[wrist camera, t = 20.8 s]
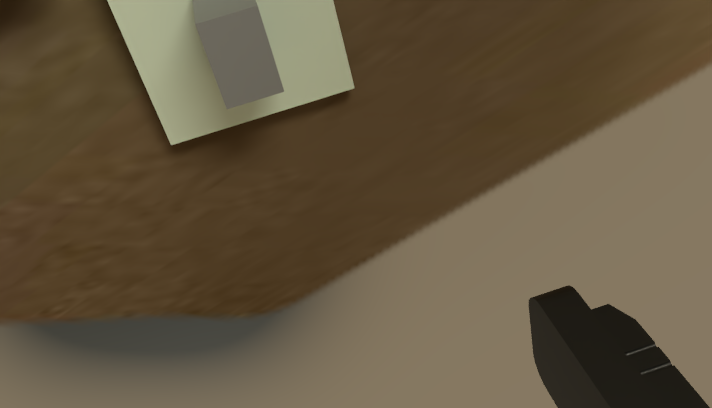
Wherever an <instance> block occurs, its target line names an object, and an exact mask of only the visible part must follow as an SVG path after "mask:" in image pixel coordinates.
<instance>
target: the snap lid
mask: <svg viewBox="0 0 712 408" xmlns="http://www.w3.org/2000/svg"><path fill="white" fill-rule="evenodd" d="M107 1H108V3H109V6H110V8H111V10H112V13H113V15H114V17H115V19H116V22H117V24H118V26H119V28H120V31H121V33H122V35H123V37H124V40H125V42H126V44H127V47H128V49H129V51H130V53H131V56H132V58H133V60H134V62H135V65H136V67H137V69H138V71H139V74H140V76H141V78H142V81H143V83H144V85H145V87H146V90H147V92H148V94H149V96H150V99H151V101H152V103H153V105H154V108H155V110H156V112H157V114H158V117H159V119H160V121H161V124H162V126H163V128H164V130H165V133H166V135H167V137H168V139H169V142H170V144H171V145H174V144H177V143H180V142H184V141H187V140H190V139H193V138H197V137H200V136H203V135H206V134H209V133H213V132H216V131H219V130H222V129H225V128H229V127H232V126H235V125H238V124H242V123H245V122H248V121H251V120H254V119H258V118H261V117H264V116H267V115H270V114H274V113H277V112H280V111H283V110H287V109H290V108H293V107H296V106H299V105H303V104H306V103H309V102H312V101H315V100H319V99H322V98H325V97H328V96H331V95H335V94H338V93H341V92H344V91H348V90H351V89H354V84H353V79H352V75H351V71H350V67H349V63H348V59H347V55H346V51H345V47H344V43H343V39H342V34H341V30H340V26H339V22H338V18H337V14H336V10H335V6H334V2H333V0H107Z"/></svg>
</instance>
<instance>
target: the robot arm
mask: <svg viewBox="0 0 712 408" xmlns="http://www.w3.org/2000/svg"><path fill="white" fill-rule="evenodd" d="M529 313H530V324H531V334H532V344H533V354H534V359H535V363H536V366H537V369H538V372H539V375H540V376H541V379H542V381H543V383H544V385H545V387H546V388H547V390H548V392H549V394H550V395H551V397H552V399H553V400H554V402H555V404H556V405H557V407H558V408H709V406H708V405H707V404H706V403H705V402H704V400H703V399H702V398H701V397H700V396H699V394H698V393H697V392H696V391H695V390H694V388H693V387H692V386H691V385H690V384H689V382H688V381H687V380H686V379H685V378H684V377H683V375H682V374H681V373H680V372H679V371H678V369H677V368H676V367H675V366H672V364H671V362H670V360H669V359H668V357H667V356H666V355H665V354H664V353H663V352H662V350H661V349H660V348H659V347H656V345H655V342H654V341H653V340H652V338H651V337H650V336H649V335H648V334H647V333H646V331H645V330H644V329H643V328H642V327H641V326H640V324H639V323H638V322H637V321H636V320H635V319H633V318H631V317H630V316H628V315H627V314H624V313H623V312H621V311H620V310H618V309H616V308H615V307H613V306H611V305H609V304H607V305H604V306H601V307H598V308H595V309H592V310H591V309H590V308H589V306H588V305H587V304H586V303H585V302H584V300H583V299H582V297H581V296H580V295H579V293H578V292H577V291H576V290H575V289H574V288H573V287H571V286H565V287H562V288H560V289H556V290H553V291H550V292H547V293H544V294H541V295H538V296H535V297H533V298H530V300H529Z"/></svg>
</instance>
